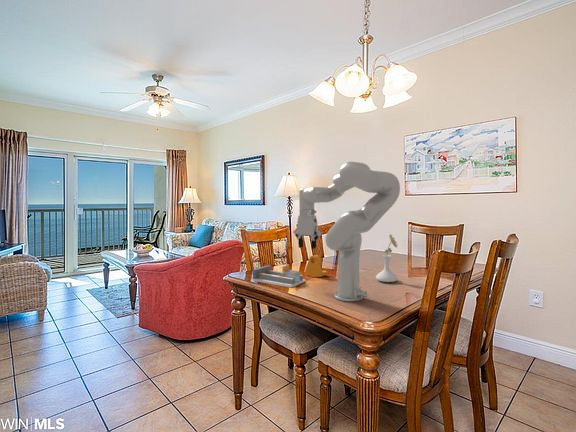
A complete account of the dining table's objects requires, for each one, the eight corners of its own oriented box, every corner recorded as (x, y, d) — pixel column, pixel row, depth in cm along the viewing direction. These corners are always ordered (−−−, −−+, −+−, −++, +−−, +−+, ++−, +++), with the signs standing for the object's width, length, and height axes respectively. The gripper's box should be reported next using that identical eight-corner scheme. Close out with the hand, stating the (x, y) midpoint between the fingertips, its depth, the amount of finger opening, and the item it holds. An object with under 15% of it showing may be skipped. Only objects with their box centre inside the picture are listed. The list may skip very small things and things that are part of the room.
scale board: (305, 281, 168) (305, 270, 167) (290, 287, 156) (290, 275, 156) (268, 275, 182) (268, 265, 182) (252, 280, 170) (252, 269, 170)
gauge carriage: (303, 279, 167) (302, 265, 166) (291, 284, 158) (291, 269, 157) (290, 277, 171) (290, 264, 171) (278, 281, 162) (278, 267, 162)
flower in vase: (390, 285, 159) (390, 236, 158) (371, 280, 168) (371, 234, 167) (403, 280, 167) (404, 234, 166) (385, 276, 176) (385, 232, 175)
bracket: (327, 275, 180) (327, 255, 180) (320, 278, 175) (320, 257, 174) (312, 273, 187) (312, 253, 187) (305, 275, 182) (305, 255, 181)
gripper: (325, 212, 155) (325, 248, 156) (296, 212, 165) (296, 245, 166) (318, 213, 149) (318, 250, 150) (288, 212, 159) (288, 247, 160)
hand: (307, 247), depth 158 cm, fingers open, 6 cm apart
